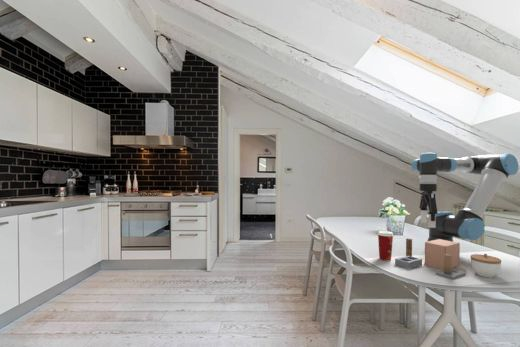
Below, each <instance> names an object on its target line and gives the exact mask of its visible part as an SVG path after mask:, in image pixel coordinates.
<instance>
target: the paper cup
mask: <svg viewBox="0 0 520 347" xmlns="http://www.w3.org/2000/svg"><path fill="white" fill-rule="evenodd" d="M377 236H378V237H377V238H378V256H379V260H382V261H386V260H389V261H391V260H392V255H393V239H394V233H393V232H392V231H387V230H379V231H378V233H377Z"/></svg>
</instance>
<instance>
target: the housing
mask: <svg viewBox="0 0 520 347" xmlns="http://www.w3.org/2000/svg"><path fill="white" fill-rule="evenodd" d="M427 241H428V240H427ZM427 241H425V242H424V265H425V266H426V265H427V266H429V267H433V268H437V269H440V270H444V254H449V255H452V269H453V268H456V267H459V266H460V251H461V250H460V249H461V248H460V247H461V245H460V242H455V241H454V242H452V241H447V240H442V239H437V240H432V241H428V242H427Z"/></svg>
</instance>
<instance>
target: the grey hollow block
mask: <svg viewBox="0 0 520 347" xmlns="http://www.w3.org/2000/svg"><path fill="white" fill-rule="evenodd" d="M394 265H395V266H397V265H398V266H397V267H400V266H401V267H400V268H405V269H408V270H410V269H411V270H412V269H413V268H417V267H418V268H419V267H422V266H423V258H419V257H415V256H413V255H412V256H406V255H405V256H401V257H397V258H395V259H394Z"/></svg>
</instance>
